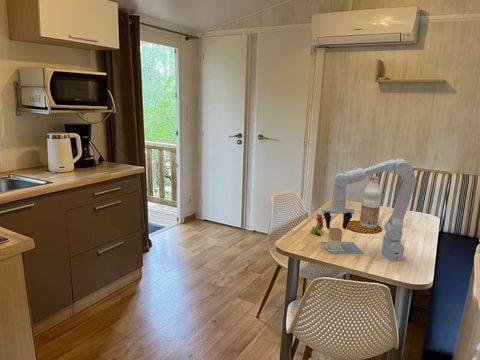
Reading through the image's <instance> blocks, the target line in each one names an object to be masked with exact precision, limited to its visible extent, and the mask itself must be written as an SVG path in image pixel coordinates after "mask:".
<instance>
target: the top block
mask: <svg viewBox="0 0 480 360" xmlns="http://www.w3.org/2000/svg"><path fill="white" fill-rule="evenodd" d="M342 237H343V230H342V229H341V228H340V227H330V229H328V238H330V239H331V240H332V241H341V242H342V240H343V238H342Z"/></svg>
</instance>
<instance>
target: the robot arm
mask: <svg viewBox="0 0 480 360" xmlns="http://www.w3.org/2000/svg"><path fill="white" fill-rule="evenodd" d="M383 172H385V173H386V172H387V173H391V174H393V173H394V172H395V174H396V175H398V177H400V179H401V181H402V184H401V187H400V189H399V192H398V195H397V198H396V201H395V204H394V207H393V211H392V214H391V215H390V217H389V218H388V220H387V221H386V222H385V224H384V226H383V227H384V231H385V233H384V234H383V238H382V245H381V251H377V253H378V255H380V256H381V257H382V258H383V259H385V260H386V261H388V262H389V261H390V262H391V261H392V262H394V261H396V262H397V261H398V262H401V261H405V259H403V257H404V251H405V247H404V245H403V243H402V237H403V234H404V233H403V228H404V220H405V217H406V213H407V211H408V207H409V204H410V203H411V198H412V195H413V193H414V190H415V187H416V184H417V178H416V175H415V172H414V168H413V166H412V165H411V164H410V162H407V160H406V159H404V158H401V157H397V158H394V159H389V160H385V161H382V162H380V163H376V164H375V165H372V166H370V167H367V168H362V167H357V166H356V167H354V168H353V169H351V170H348V171H346V170H344V171H343V172H339V173H337V174H336V175H335V176H334V178H333V182H334V185H333V192H332V202H331V207H325V208H321V214H322V216H323V218H324V217H325V218H324V221H325V225H326V229H327V230H329V229H330V228H331V221H332V216H331V214H338V215H341V214H342V215H343V217H342V218H343V220H342V221H343V222H342V229H343V230H346V229H347V226H348V225H349V223H350V221H351V219H352V218H353V215H355V210H354V208H346V200H347V186H348V185H352V184H353V185H354V184H356V183H359V182H362V181H365V180H366V178H367V177H368V176H369V177H370V176H372V175H376V174H379V173H383Z"/></svg>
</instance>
